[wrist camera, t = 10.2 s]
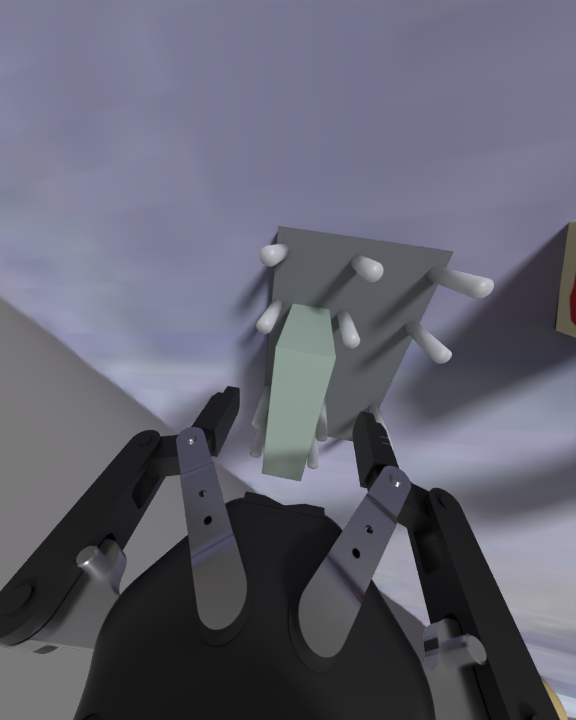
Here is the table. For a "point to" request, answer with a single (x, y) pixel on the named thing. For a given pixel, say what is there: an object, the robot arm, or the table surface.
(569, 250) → the milk carton
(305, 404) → the sage green prism
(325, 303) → the dish rack
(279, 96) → the table surface
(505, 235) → the table surface
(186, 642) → the robot arm
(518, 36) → the table surface
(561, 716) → the yellow lumpy ball
